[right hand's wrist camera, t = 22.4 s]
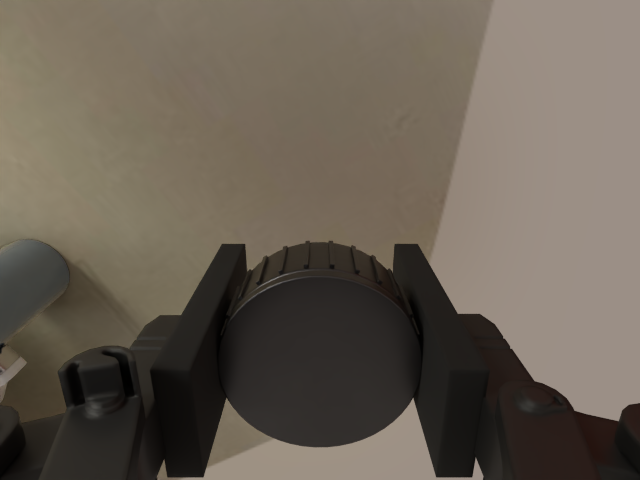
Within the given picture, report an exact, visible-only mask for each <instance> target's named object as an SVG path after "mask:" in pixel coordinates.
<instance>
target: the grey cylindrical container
mask: <svg viewBox="0 0 640 480" xmlns="http://www.w3.org/2000/svg"><path fill="white" fill-rule="evenodd" d="M69 278H70V276H69V270H68V267H67V264H66V262H65V261H64V259H63V258H62V256H61V255H60V254H59V253H58V252H57V251H56V250H54V249H53V248H52V247H50V246H48V245H47V244H45V243H42V242H39V241H36V240H29V239H23V240H18V241H14V242H12V243H10V244H8V245H7V246H5V247H3V248H1V249H0V348H1V347H2V346H4V345H5V344H6V343H7V342H8V341H10V340H11V339H12V338H13V337H14V336H15V335H16V334H18V333H19V332H20V331H21V330H22V329H23V328H24V327H26V326H27V325H28V324H29V323H30V322H31V321H32V320H34V319H35V318H36V317H37V316H38V315H39V314H40V313H42V312H43V311H44V310H45V309H46V308H47V307H48V306H50V305H51V304H52V303H53V302H54V301H55V300H56V299H58V298H59V297H60V296H61V295H62V294H63V293H64V292H65V291H66V289H67V287H68V284H69Z"/></svg>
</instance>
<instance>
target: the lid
mask: <svg viewBox="0 0 640 480" xmlns="http://www.w3.org/2000/svg"><path fill="white" fill-rule="evenodd" d="M413 317H414V315H413V312H412V310H411V307H410V304H409V302H408V299H407V297H406V294H405V291H404V289H403V287H402V285H400V286H399V285H398V284H397V282H396V280H395V279H394V276H393V273H392V271H391V270H390V269H388V270H387V269H386V268H385V267H384V266H383V265H381V264H380V263H379V262H378V261H377V260H376V257H375V256H374V255H372V256H369V255H367V254H365V253H363V252H361V251H359V250H357V249H356V247H355V246H353V245H352V246H351V247H349V246H344V245H340V244H335V243H333V241H329V243H326V242H313V243H310V241H306V242H305V244H299V245H295V246H292V247H287V246H284V247H283V250H281V251H278V252H276V253H275V254H273V255H271V256H269V257H267V255H266V256H265V257H263V260H262V262H261V263H259V264H258V265H257V266H256V267H255V268H254V269H253V270H250V269H249V271H248V272H247V274H246V277H245V280H244V282H243V283H242V285H241V287H239V286H237V288H236V291H235V293H234V296H233V298H232V301H231V304H230V306H229V309H228V311H227V314H226V316H225V318H226V321H225V324H224V326H223V329H222V331H221V334H220V342H219V347H218V352H217V363H218V373H219V379H220V383H221V386H222V389H223V391H224V393H225V395H226V397H227V399H228V400H229V402H230V404H231V405H232V407H233V408H234V409H235V410H236V411H237V413H238V414H239V415H240V416H241V417H242V418H243V419H244V420H245V421H246V422H248V423H249V424H250V425H252V426H253V427H254V428H256V429H257V430H259V431H261V432H262V433H264V434H266V435H268V436H270V437H272V438H275V439H277V440H280V441H283V442H286V443H290V444H294V445H299V446H307V447H333V446H341V445H346V444H350V443H354V442H357V441H360V440H363V439H365V438H367V437H370V436H372V435H374V434H376V433H377V432H379V431H381V430H383V429H384V428H386V427H387V426H388V425H389V424H391V423H392V422H393V421H394V420H395V419H397V418H398V417H399V416H400V415H401V414H402V413H403V411H404V410H405V409H406V408H407V406H408V405H409V403H410V402H411V400H412V398H413V397H414V395H415V393H416V390H417V388H418V386H419V382H420V378H421V371H422V348H421V344H420V339H419V336H420V333H419V331H418V328H417V326H416V323H415V320H414V318H413Z"/></svg>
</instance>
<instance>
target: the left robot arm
mask: <svg viewBox="0 0 640 480" xmlns="http://www.w3.org/2000/svg"><path fill="white" fill-rule="evenodd" d="M26 364H27V362H26V361H25V360H24V359H23V358H22V357H21V356H20V355H19V354H18V353H16V352H15V351H14V350H13V349H12V348H11V347H10V346H8V345H7V344H5V345H4V346H2V347H1V348H0V402H1V401H2V400H3V398H4V395H5V391H6V387H7V383H8V381H9V380H11V379H12V378H13V377H14V376H15V375H16V374H17V373H18V372H19V371H20V370H21V369H22V368H23V367H24V366H25V365H26Z"/></svg>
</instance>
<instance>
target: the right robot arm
mask: <svg viewBox="0 0 640 480" xmlns="http://www.w3.org/2000/svg"><path fill="white" fill-rule="evenodd" d="M246 274H247V265H246V250H245V244H222V245H221V247H220V249H219V250H218V252H217V254H216V256H215V257H214V259H213V261H212V263H211V264H210V266H209V268H208V269H207V271H206V273H205V275H204V276H203V278H202V280H201V282H200V283H199V285H198V287H197V289H196V290H195V292H194V294H193V296H192V297H191V299H190V301H189V303H188V304H187V306H186V308H185V310H184V311H183V313H182V315H160V316H158V317H157V318H156V319H154V320H153V321H151V322H150V323H148V324H147V325H146V326H145V327H144V328H143V330H142V331H141V333H140V334H139V335H138V337H137V340H135V341H134V343H133V344H132V346H131V347H130V349H128V348H125V347H121V346H103V347H99V348H94V349H90V350H87V351H85V352H83V353H80V354H78V355H76V356H74V357H73V358H71V359H70V360H69V361H67V362H66V363H64V365H63V366H62V367H61V368H60V370H59V371H58V375H59V379H60V383H61V387H62V391H63V395H64V399H65V402H66V406H67V410H66V412H65V413H63V414H59V415H56V416H52V417H47V418H43V419H38V420H34V421H29V422H25V423H21V421H20V417H19V414H18V412H17V411H16V410H15V409H13V408H12V407H9V406H3V405H0V480H157V475H158V472H159V470H160V467H161V465H162V463H163V460H164V459H165V465H166V471H167V477H204V473H205V470H206V467H207V463H208V460H209V456H210V453H211V449H212V446H213V442H214V439H215V435H216V432H217V428H218V425H219V421H220V418H221V415H222V411H223V408H224V404H225V401H226V395H225V393H224V391H223V389H222V386H221V383H220V379H219V373H218V363H217V352H218V347H219V342H220V334H221V331H222V329H223V326H224V324H225V321H226V318H225V316H226V314H227V311H228V309H229V306H230V304H231V301H232V298H233V296H234V293H235V291H236V288H237V286H239V287H241V285H242V283H243V282H244V280H245V277H246ZM393 276H394V279H395V280H396V282H397V284H398V285H399V286H400V285H402V287H403V289H404V291H405V294H406V297H407V299H408V302H409V304H410V307H411V310H412V312H413V315H414V317H413V318H414V320H415V323H416V326H417V328H418V331H419V333H420V336H419V339H420V344H421V348H422V371H421V378H420V382H419V386H418V388H417V390H416V393H415V395H414V397H413V398H414V401H415V405H416V408H417V412H418V415H419V419H420V422H421V426H422V429H423V433H424V436H425V440H426V443H427V447H428V450H429V454H430V457H431V460H432V464H433V467H434V471H435V474H436V477H472V476H473V469H474V463H475V458H476V459H477V461H478V464H479V466H480V468H481V471H482V473H483V476H484V477H483V480H640V403H638V404H632V405H628V406H627V407H626V408H625V409H623V410H622V413H621V416H620V420H619V421H614V420H610V419H605V418H601V417H596V416H592V415H587V414H584V413H580V412H577V411H574V409H573V407H572V406H571V404H570V403H569V401H568V400H567V398H566V397H564V396H563V395H562V394H560V393H559V392H558V391H557V390H555V389H553V388H551V387H549V386H547V385H545V384H543V383H539V382H535V381H534V380H533V378H532V377H531V376H530V374H529V373H528V371H527V370H526V368H525V367H524V366H523V364H522V363H521V361H520V360H519V358H518V357H517V356H516V354H515V353H514V351H513V350H512V349H510V346H509V344H508V343H507V341H506V340H505V339H503V336H502V334H501V333H500V331H499V330H498V328H497V327H496V326H495V324H494V323H492V322H491V321H489V320H488V319H486V318H485V317H483V316H482V315H480V314H457V312H456V310H455V308H454V307H453V305H452V303H451V301H450V300H449V298H448V296H447V294H446V293H445V291H444V289H443V287H442V286H441V284H440V282H439V280H438V279H437V277H436V275H435V273H434V272H433V270H432V268H431V266H430V265H429V263H428V261H427V260H426V258H425V256H424V254H423V253H422V251H421V249H420V247H419V246H418V244H395V246H394V261H393Z"/></svg>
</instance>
